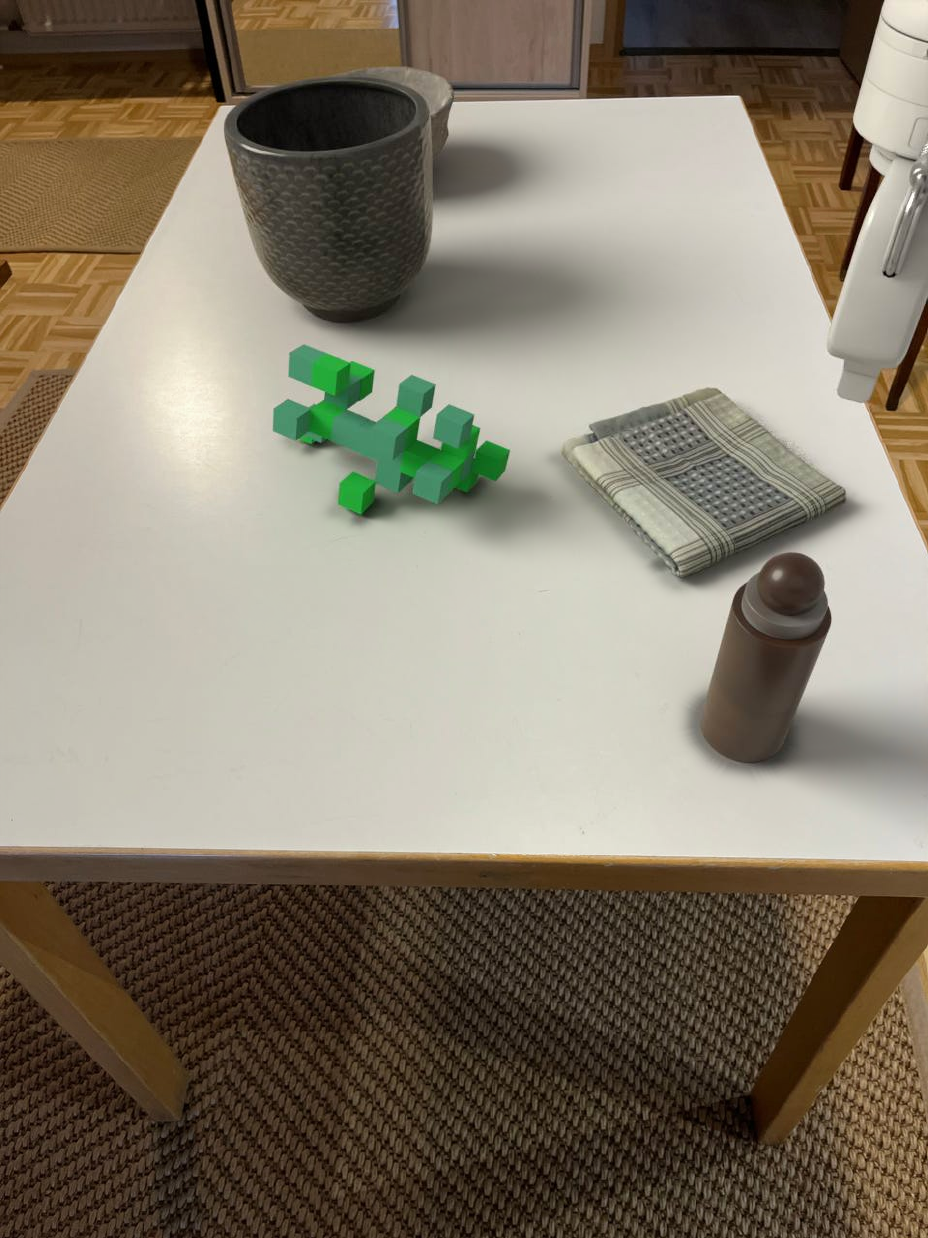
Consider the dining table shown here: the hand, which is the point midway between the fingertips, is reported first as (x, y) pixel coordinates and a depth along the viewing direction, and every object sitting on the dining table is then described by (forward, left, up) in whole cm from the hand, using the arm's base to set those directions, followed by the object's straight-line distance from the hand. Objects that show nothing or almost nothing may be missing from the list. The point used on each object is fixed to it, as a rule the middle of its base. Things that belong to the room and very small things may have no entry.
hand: (872, 350), depth 54 cm
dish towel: (+8, -13, -22) cm, 27 cm away
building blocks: (+34, -8, -22) cm, 41 cm away
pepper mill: (+3, +12, -22) cm, 25 cm away
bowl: (+53, -67, -22) cm, 88 cm away
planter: (+47, -37, -22) cm, 63 cm away
